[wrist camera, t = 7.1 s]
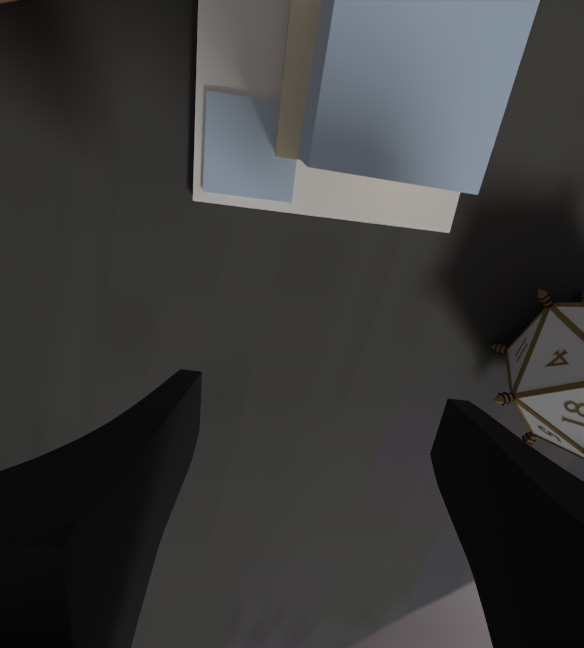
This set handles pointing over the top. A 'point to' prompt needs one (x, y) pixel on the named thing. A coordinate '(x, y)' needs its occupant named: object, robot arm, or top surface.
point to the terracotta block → (5, 0)
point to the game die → (549, 374)
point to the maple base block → (296, 75)
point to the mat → (261, 132)
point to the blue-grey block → (412, 87)
